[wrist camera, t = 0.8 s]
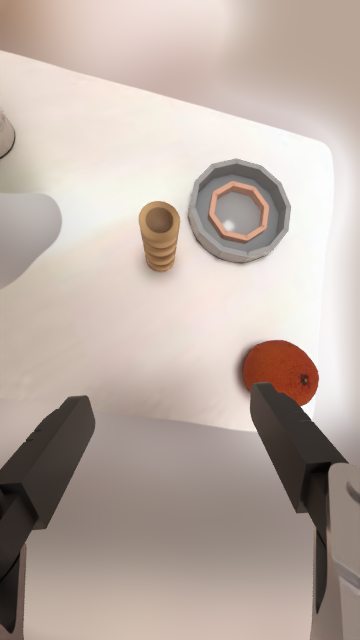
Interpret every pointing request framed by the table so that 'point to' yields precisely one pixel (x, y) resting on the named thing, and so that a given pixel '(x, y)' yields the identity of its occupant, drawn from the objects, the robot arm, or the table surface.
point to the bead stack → (159, 234)
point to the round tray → (238, 210)
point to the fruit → (282, 370)
